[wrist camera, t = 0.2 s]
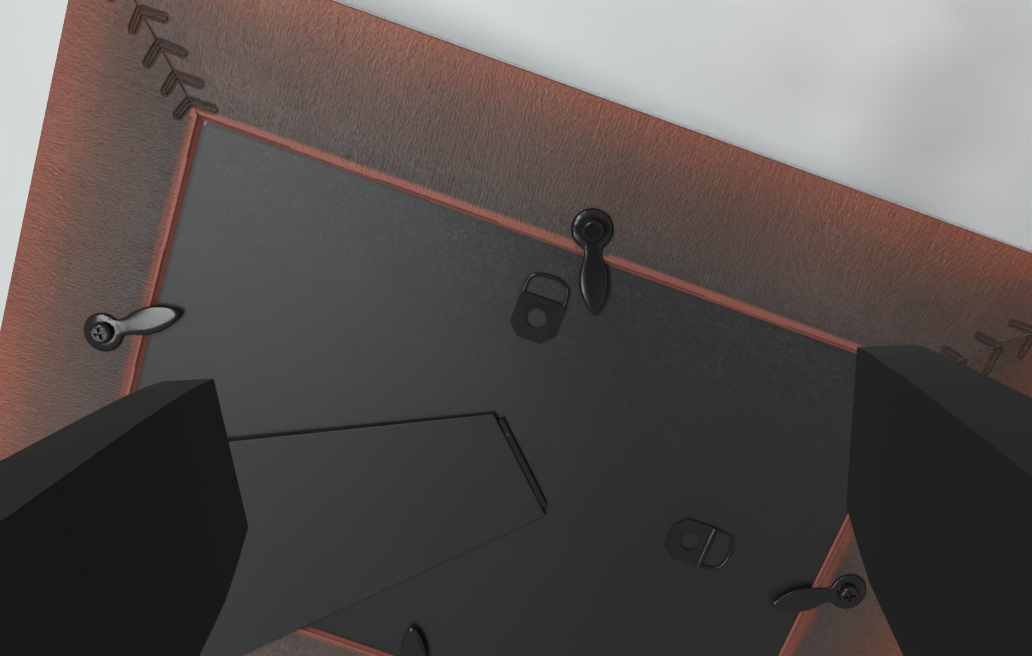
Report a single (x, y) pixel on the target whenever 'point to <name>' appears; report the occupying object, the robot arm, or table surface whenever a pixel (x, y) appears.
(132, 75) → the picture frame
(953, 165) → the table surface
